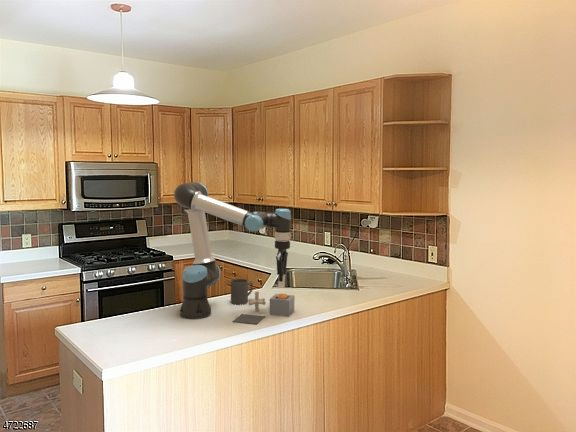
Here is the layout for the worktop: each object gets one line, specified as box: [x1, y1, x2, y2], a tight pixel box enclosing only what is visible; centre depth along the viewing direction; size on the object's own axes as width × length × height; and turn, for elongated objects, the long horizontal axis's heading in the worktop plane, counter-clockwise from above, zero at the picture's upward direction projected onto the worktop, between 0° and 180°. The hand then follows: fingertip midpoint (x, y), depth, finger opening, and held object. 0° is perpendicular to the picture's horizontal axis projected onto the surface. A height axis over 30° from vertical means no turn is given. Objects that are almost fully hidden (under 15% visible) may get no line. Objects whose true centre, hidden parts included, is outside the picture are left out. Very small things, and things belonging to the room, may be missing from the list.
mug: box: [230, 278, 254, 306], centre depth 264 cm, size 14×9×12 cm
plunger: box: [276, 293, 288, 299], centre depth 244 cm, size 5×5×2 cm
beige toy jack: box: [248, 291, 266, 313], centre depth 247 cm, size 10×10×10 cm
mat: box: [232, 313, 266, 326], centre depth 234 cm, size 12×12×1 cm
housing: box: [269, 293, 296, 317], centre depth 245 cm, size 10×10×8 cm
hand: (281, 287), depth 244 cm, fingers closed
